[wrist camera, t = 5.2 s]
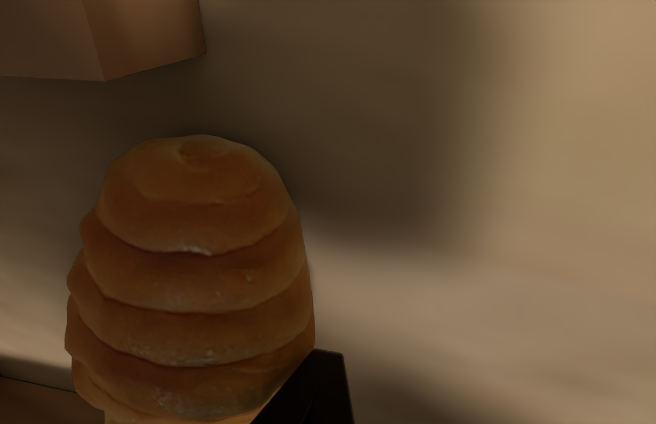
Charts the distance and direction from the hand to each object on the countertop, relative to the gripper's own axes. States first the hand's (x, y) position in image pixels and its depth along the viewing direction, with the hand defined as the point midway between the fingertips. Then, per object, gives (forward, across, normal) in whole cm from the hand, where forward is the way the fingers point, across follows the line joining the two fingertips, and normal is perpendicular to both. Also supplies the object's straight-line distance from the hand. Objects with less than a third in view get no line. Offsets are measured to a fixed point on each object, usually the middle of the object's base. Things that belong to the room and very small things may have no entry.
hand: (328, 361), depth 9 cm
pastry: (+2, +4, 0) cm, 4 cm away
